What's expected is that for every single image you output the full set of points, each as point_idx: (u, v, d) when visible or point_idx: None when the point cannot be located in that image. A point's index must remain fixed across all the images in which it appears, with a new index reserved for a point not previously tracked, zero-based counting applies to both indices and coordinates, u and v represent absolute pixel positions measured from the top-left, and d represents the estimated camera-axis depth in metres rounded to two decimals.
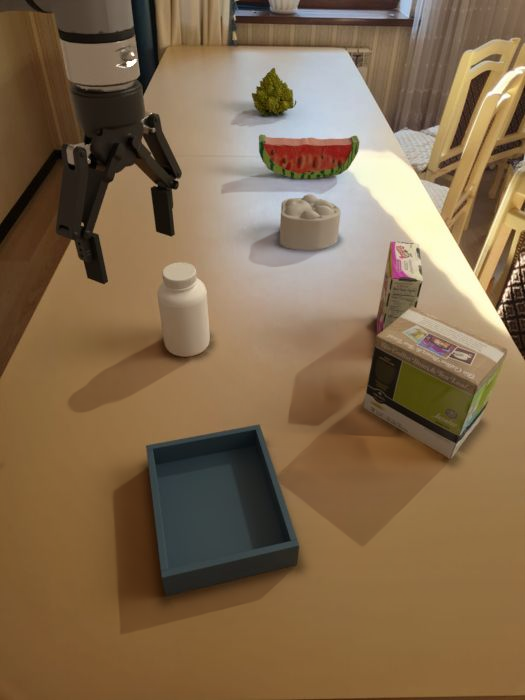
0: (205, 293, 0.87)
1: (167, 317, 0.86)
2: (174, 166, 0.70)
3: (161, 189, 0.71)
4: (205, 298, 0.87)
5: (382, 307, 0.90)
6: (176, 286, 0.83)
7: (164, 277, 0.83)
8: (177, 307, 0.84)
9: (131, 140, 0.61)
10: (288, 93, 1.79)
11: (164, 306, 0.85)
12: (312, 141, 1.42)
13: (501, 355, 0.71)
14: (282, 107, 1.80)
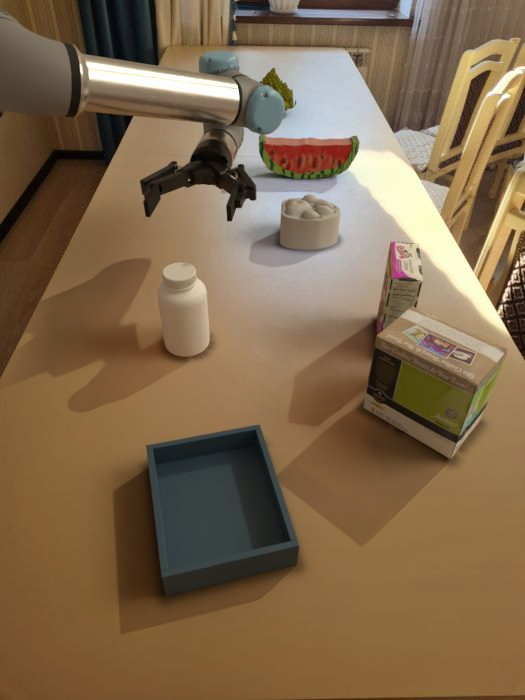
0: (205, 293, 0.87)
1: (167, 317, 0.86)
2: None
3: None
4: (205, 298, 0.87)
5: (382, 307, 0.90)
6: (176, 286, 0.83)
7: (164, 277, 0.83)
8: (177, 307, 0.84)
9: None
10: (288, 93, 1.79)
11: (164, 306, 0.85)
12: (312, 141, 1.42)
13: (501, 355, 0.71)
14: None
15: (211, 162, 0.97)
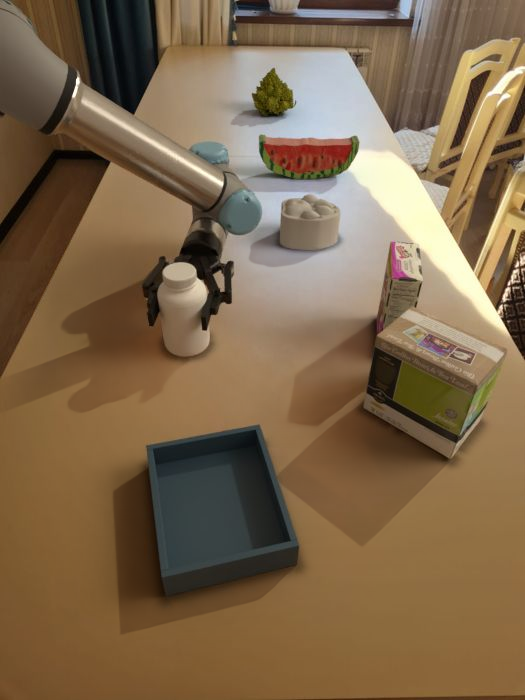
0: (205, 293, 0.87)
1: (167, 317, 0.86)
2: None
3: None
4: (205, 298, 0.87)
5: (382, 307, 0.90)
6: (176, 286, 0.83)
7: (164, 277, 0.83)
8: (177, 307, 0.84)
9: None
10: (288, 93, 1.79)
11: (164, 306, 0.85)
12: (312, 141, 1.42)
13: (501, 355, 0.71)
14: (282, 107, 1.80)
15: (201, 257, 0.96)
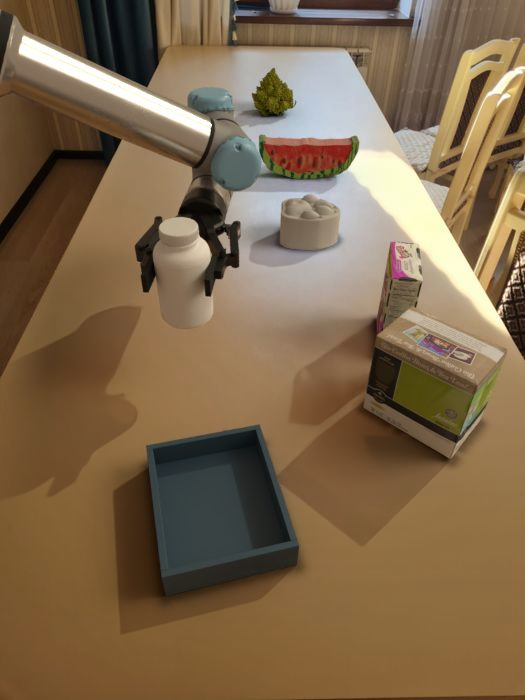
0: (209, 253, 0.74)
1: (164, 281, 0.74)
2: None
3: None
4: (209, 259, 0.75)
5: (382, 307, 0.90)
6: (175, 243, 0.71)
7: (161, 233, 0.71)
8: (176, 268, 0.72)
9: None
10: (288, 93, 1.79)
11: (160, 268, 0.73)
12: (312, 141, 1.42)
13: (501, 355, 0.71)
14: (282, 107, 1.80)
15: (203, 216, 0.84)
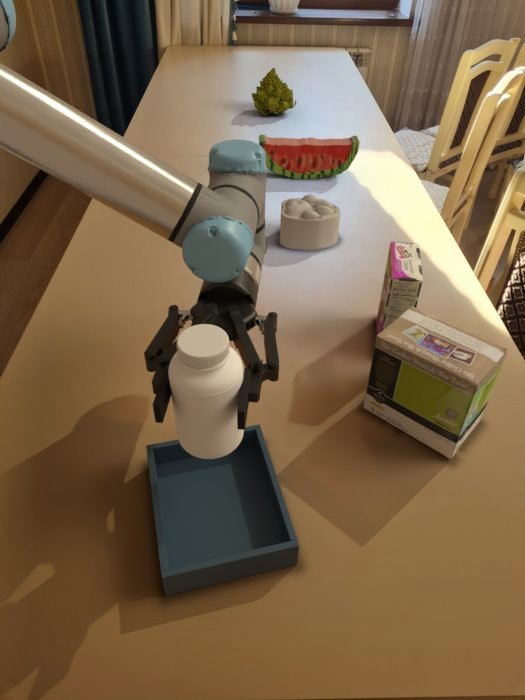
0: (242, 371, 0.57)
1: (184, 407, 0.56)
2: None
3: None
4: (241, 378, 0.57)
5: (382, 307, 0.90)
6: (199, 365, 0.53)
7: (180, 351, 0.53)
8: (200, 396, 0.54)
9: None
10: (288, 93, 1.79)
11: (179, 393, 0.55)
12: (312, 141, 1.42)
13: (501, 355, 0.71)
14: (282, 107, 1.80)
15: (231, 307, 0.66)
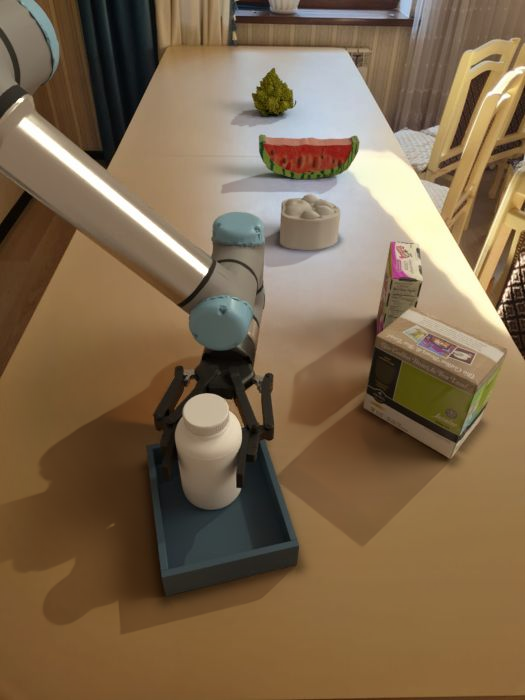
0: (240, 435, 0.64)
1: (188, 468, 0.63)
2: None
3: None
4: (240, 441, 0.64)
5: (382, 307, 0.90)
6: (202, 433, 0.60)
7: (185, 420, 0.60)
8: (203, 459, 0.61)
9: None
10: (288, 93, 1.79)
11: (184, 456, 0.62)
12: (312, 141, 1.42)
13: (501, 355, 0.71)
14: (282, 107, 1.80)
15: (231, 369, 0.73)
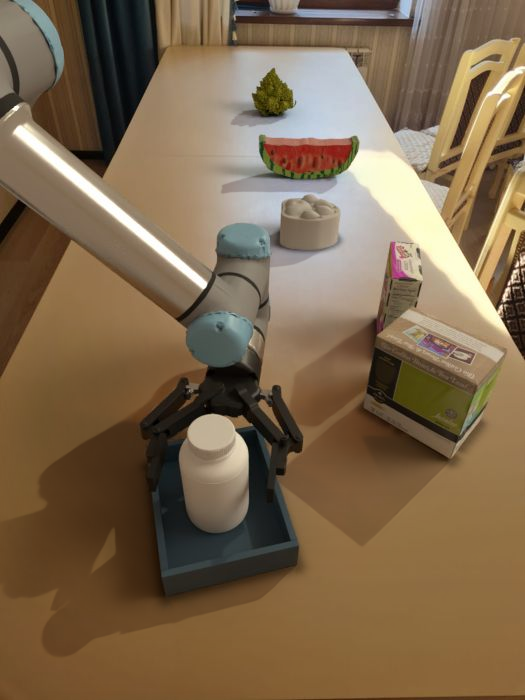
0: (247, 457, 0.61)
1: (193, 491, 0.61)
2: None
3: None
4: (247, 464, 0.61)
5: (382, 307, 0.90)
6: (207, 457, 0.58)
7: (190, 443, 0.58)
8: (208, 483, 0.59)
9: None
10: (288, 93, 1.79)
11: (189, 479, 0.60)
12: (312, 141, 1.42)
13: (501, 355, 0.71)
14: (282, 107, 1.80)
15: (237, 386, 0.71)
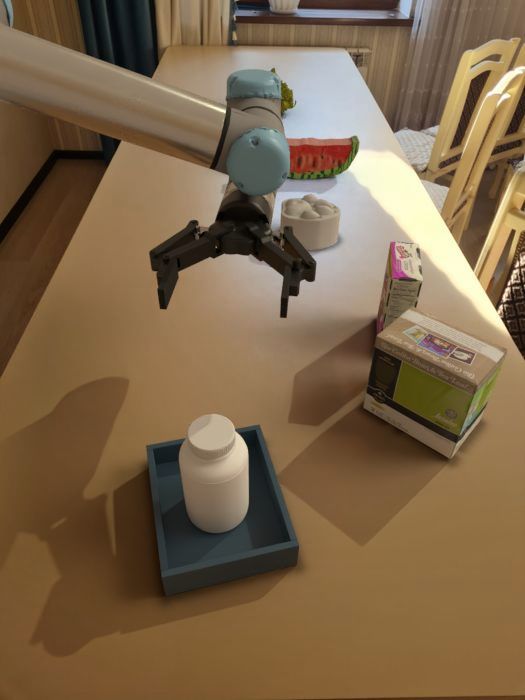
0: (247, 457, 0.61)
1: (193, 491, 0.61)
2: None
3: None
4: (247, 463, 0.61)
5: (382, 307, 0.90)
6: (207, 457, 0.58)
7: (190, 443, 0.58)
8: (208, 483, 0.59)
9: None
10: (288, 93, 1.79)
11: (188, 479, 0.60)
12: (312, 141, 1.42)
13: (501, 355, 0.71)
14: (282, 107, 1.80)
15: (248, 224, 0.69)
